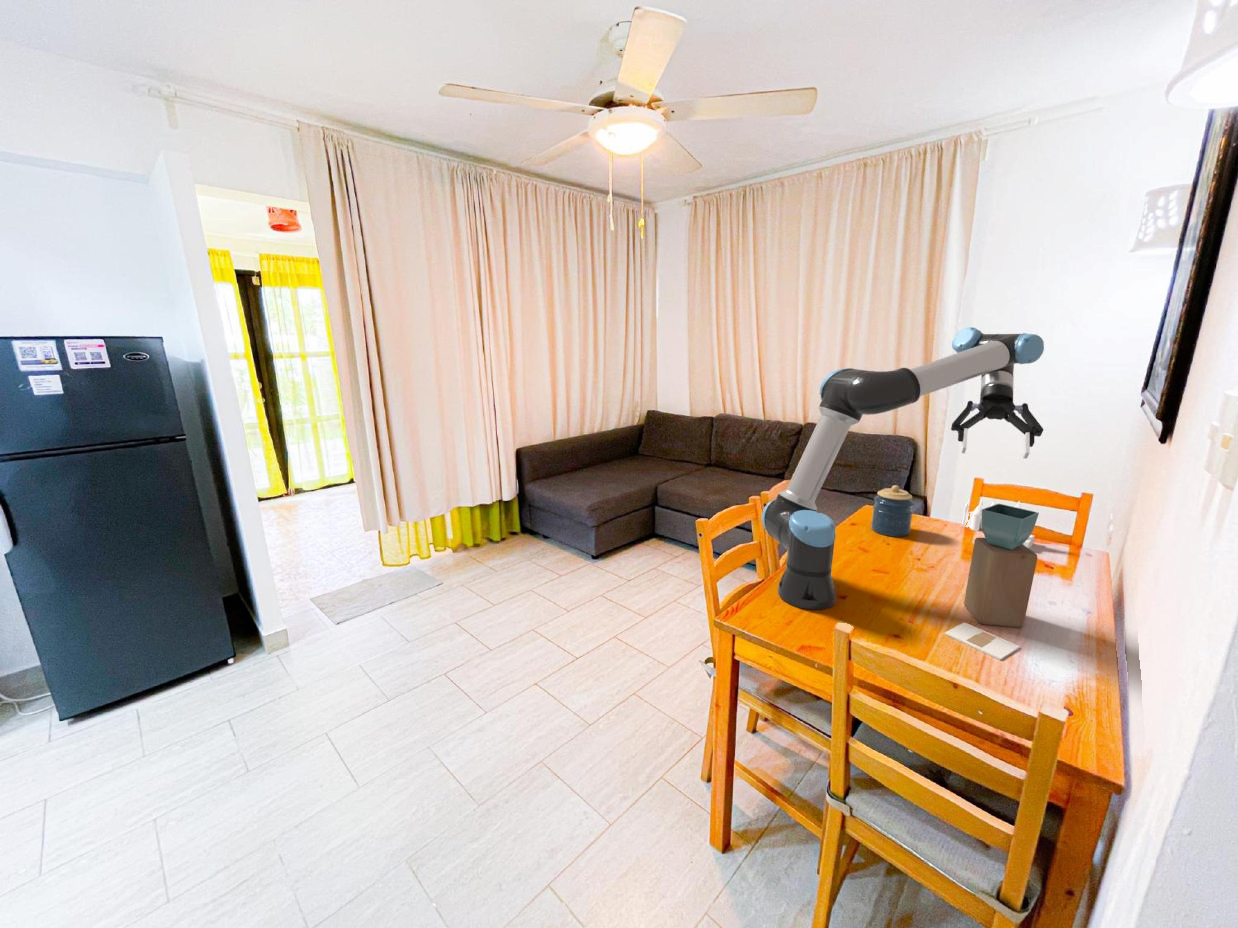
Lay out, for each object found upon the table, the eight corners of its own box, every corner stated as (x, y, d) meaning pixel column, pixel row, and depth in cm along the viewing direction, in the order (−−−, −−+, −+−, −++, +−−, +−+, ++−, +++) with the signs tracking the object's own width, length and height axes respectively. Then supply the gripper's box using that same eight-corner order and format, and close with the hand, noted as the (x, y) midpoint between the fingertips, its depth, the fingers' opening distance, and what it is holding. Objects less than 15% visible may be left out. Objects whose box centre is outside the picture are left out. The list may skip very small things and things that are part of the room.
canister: (879, 522, 197) (885, 478, 192) (915, 531, 187) (922, 485, 183) (864, 530, 189) (869, 485, 184) (901, 540, 179) (907, 492, 175)
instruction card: (944, 634, 123) (944, 632, 123) (963, 623, 127) (964, 621, 127) (1000, 660, 113) (1000, 658, 113) (1019, 647, 117) (1020, 645, 117)
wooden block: (1024, 629, 124) (1040, 554, 120) (979, 625, 126) (993, 551, 122) (1003, 608, 134) (1017, 538, 129) (961, 605, 136) (973, 535, 131)
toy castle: (1024, 552, 168) (1033, 506, 164) (952, 527, 191) (959, 486, 187) (1052, 545, 173) (1061, 501, 169) (978, 522, 196) (985, 482, 192)
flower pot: (975, 542, 127) (981, 508, 124) (992, 535, 131) (998, 502, 129) (1016, 555, 119) (1023, 519, 117) (1032, 547, 124) (1039, 512, 121)
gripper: (1048, 401, 141) (1050, 465, 132) (943, 397, 153) (938, 455, 144) (1057, 384, 135) (1058, 449, 126) (946, 381, 147) (941, 440, 138)
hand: (994, 453), depth 135 cm, fingers open, 13 cm apart
